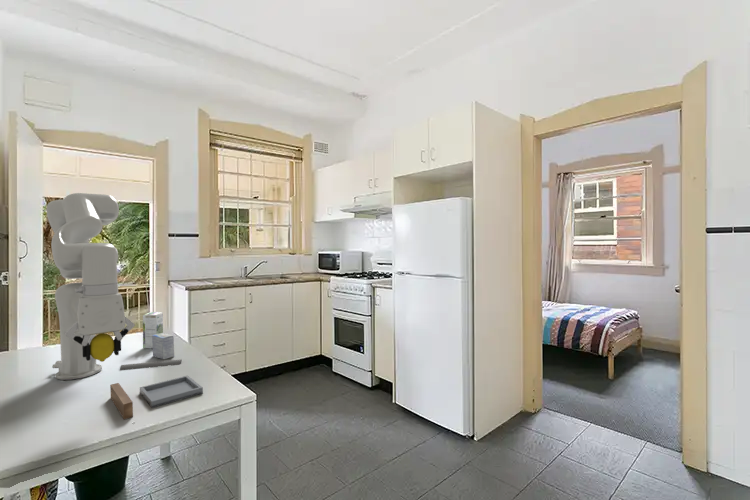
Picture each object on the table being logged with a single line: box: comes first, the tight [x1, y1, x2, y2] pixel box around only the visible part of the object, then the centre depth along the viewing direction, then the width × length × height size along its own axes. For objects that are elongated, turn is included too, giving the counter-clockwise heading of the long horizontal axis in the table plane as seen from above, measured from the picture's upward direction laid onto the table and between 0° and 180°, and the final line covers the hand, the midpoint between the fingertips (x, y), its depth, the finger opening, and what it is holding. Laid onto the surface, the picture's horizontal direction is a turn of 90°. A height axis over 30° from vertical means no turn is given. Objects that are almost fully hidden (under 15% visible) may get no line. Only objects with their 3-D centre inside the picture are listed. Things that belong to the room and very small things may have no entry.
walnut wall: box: [110, 382, 134, 420], centre depth 104 cm, size 2×18×4 cm, turn 44°
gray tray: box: [139, 375, 204, 409], centre depth 113 cm, size 14×14×2 cm
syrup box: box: [142, 311, 164, 349], centre depth 161 cm, size 6×6×14 cm
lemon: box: [90, 333, 115, 362], centre depth 101 cm, size 6×6×8 cm
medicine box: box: [152, 332, 175, 360], centre depth 147 cm, size 8×4×9 cm, turn 58°
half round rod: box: [119, 358, 182, 371], centre depth 137 cm, size 4×20×2 cm, turn 107°
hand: (102, 355), depth 101 cm, fingers closed on lemon, 5 cm apart
